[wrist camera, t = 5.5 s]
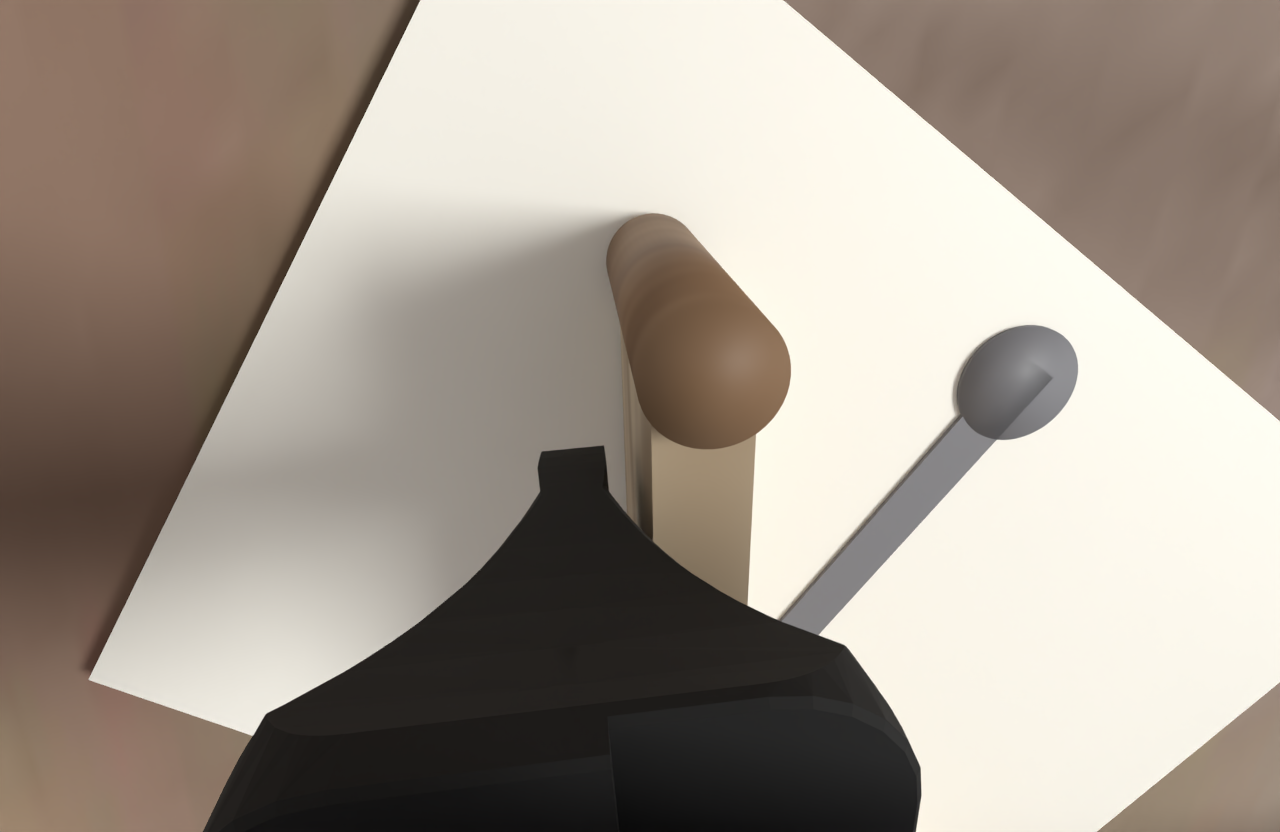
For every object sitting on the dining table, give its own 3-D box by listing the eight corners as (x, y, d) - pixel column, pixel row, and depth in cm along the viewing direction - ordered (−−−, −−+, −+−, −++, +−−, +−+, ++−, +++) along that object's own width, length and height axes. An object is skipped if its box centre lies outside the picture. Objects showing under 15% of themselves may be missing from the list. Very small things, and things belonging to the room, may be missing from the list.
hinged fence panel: (626, 741, 17) (652, 1012, 12) (603, 214, 12) (633, 306, 7) (693, 734, 17) (746, 1000, 12) (699, 211, 12) (796, 299, 7)
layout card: (927, 956, 23) (932, 970, 23) (96, 668, 15) (85, 683, 15) (1423, 546, 18) (1440, 556, 17) (527, -209, 10) (526, -220, 10)
